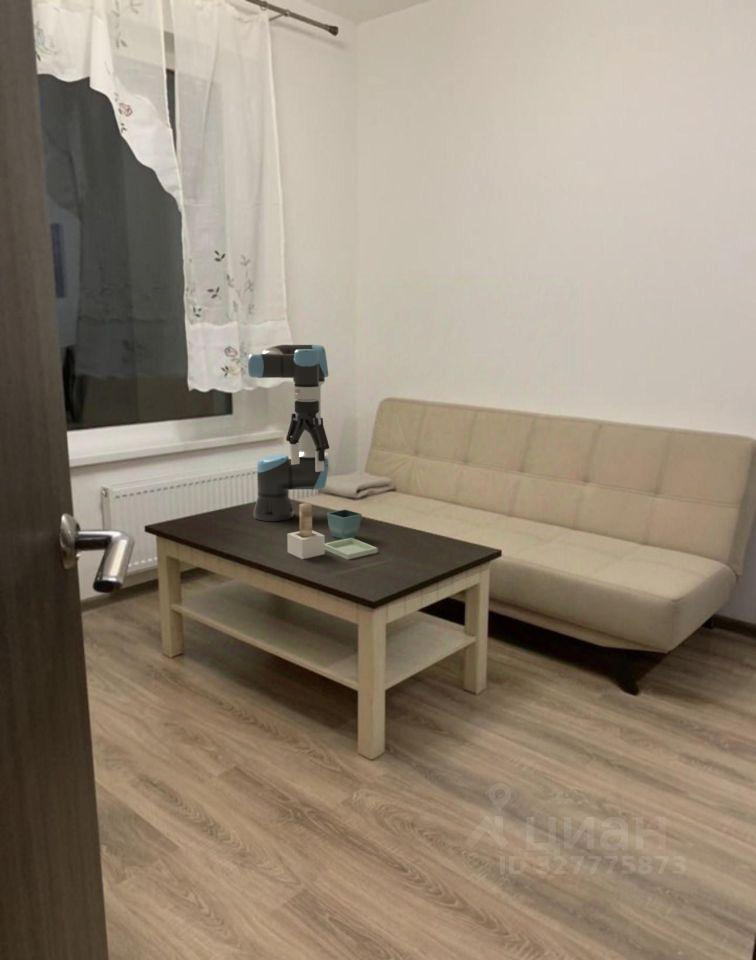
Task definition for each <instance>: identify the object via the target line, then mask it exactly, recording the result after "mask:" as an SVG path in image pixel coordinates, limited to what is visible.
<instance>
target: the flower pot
mask: <svg viewBox="0 0 756 960" xmlns="http://www.w3.org/2000/svg"><path fill="white" fill-rule="evenodd" d="M326 515H327V525H328V529H329V531H330V534H331V535H332V536H333V537H334V538H337V539H339V540H343V539H348V538H354V539H355V538H356V536H357V535H358V533H359V530H360V527H361V522H362V515H363V514H362V513H360V512H357V511H354V510H353V511H352V510H349V509H341V510H336V511H331V512H326Z"/></svg>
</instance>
